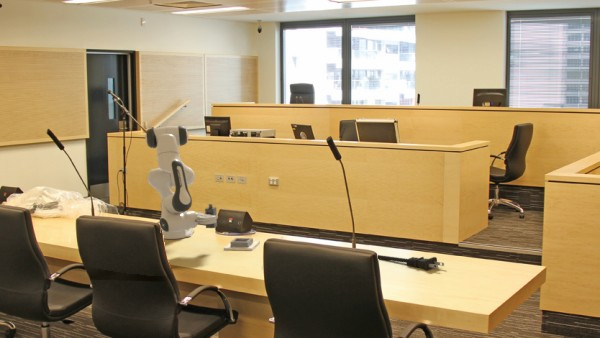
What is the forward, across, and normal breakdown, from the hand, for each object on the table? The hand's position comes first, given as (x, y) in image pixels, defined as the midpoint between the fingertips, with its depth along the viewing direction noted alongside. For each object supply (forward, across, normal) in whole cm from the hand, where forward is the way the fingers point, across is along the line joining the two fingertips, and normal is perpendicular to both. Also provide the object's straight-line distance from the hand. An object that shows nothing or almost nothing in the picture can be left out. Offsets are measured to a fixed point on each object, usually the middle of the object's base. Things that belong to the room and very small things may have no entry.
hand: (212, 215), depth 379 cm
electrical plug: (+40, -92, +18) cm, 102 cm away
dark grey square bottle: (-1, 0, +6) cm, 6 cm away
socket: (+12, -8, +17) cm, 23 cm away
